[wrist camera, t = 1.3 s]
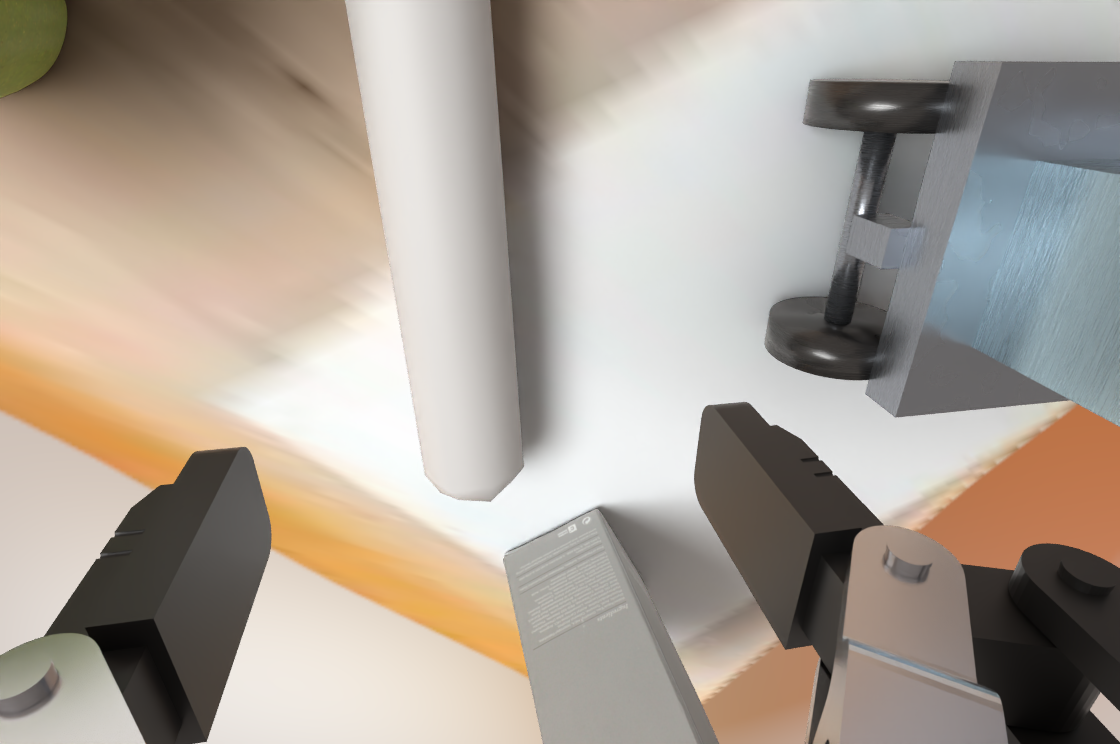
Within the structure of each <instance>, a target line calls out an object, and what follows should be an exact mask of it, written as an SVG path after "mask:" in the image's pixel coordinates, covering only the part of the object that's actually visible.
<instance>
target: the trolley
mask: <svg viewBox="0 0 1120 744" xmlns="http://www.w3.org/2000/svg"><path fill="white" fill-rule="evenodd" d="M803 124H806V125H809V126H814V127H821V128H829V129H838V130H850V131H864V135H863V139H862V144H861V148H860V153H859V157H858V162H857V167H856V171H855V176H854V180H853V185H852V189H851V194H850V199H849V203H848V208H847V212H846V217H845V221H844V226H843V231H842V235H841V240H840V244H839V249H838V253H837V258H836V263H835V267H834V272H833V276H832V281H831V285H830V290H829V295H828V298H825V297H802V298H793V299H788V300H784V301H781V302H779V303H776V304H775V305H774V306H772V308H771V310H770V314H769V319H768V325H767V331H766V337H765V347H766V349H767V351H768V352H769V353H770V354H771V355H772V356H773V357H775V358H776V359H777V360H779V361H781V362H782V363H784V364H786V365H788V366H791V367H793V368H795V369H798V370H801V371H804V372H807V373H810V374H814V375H818V376H823V377H828V378H835V379H843V380H869V382H868V386H867V390H866V393H865V394H866V395H867V396H869V397H870V398H871V399H873V400H874V401H875V402H876V403H878V404H879V405H880V406H881V407H883V408H884V409H885V410H887V411H888V412H889V413H890V414H892V415H893V416H894V417H905V416H915V415H925V414H935V413H945V412H955V411H966V410H976V409H986V408H996V407H1006V406H1016V405H1026V404H1037V403H1047V402H1057V401H1067V400H1071V401H1073V402H1075V403H1077V404H1079V405H1081V406H1082V407H1084V408H1086V409H1088V410H1090V411H1092V412H1093V413H1095V414H1097V415H1099V416H1101V417H1103V418H1105V419H1106V420H1109V421H1110V422H1112V423H1114V424H1116V425H1118V426H1119V427H1120V62H973V61H955V63H954V67H953V70H952V74H951V78H950V81H941V80H901V79H814V80H810V84H809V90H808V96H807V101H806V107H805V113H804V119H803ZM897 133H918V134H932V133H935V137H934V141H933V145H932V148H931V152H930V156H929V159H928V163H927V167H926V171H925V174H924V178H923V182H922V185H921V189H920V193H919V197H918V200H917V204H916V208H915V211H914V215H913V219H912V221H909V220H906V219H903V218H900V217H897V216H894V215H891V214H889V213H885V214H877V213H878V209H879V205H880V201H881V197H882V193H883V189H884V185H885V180H886V176H887V172H888V168H889V164H890V160H891V156H892V152H893V147H894V143H895V139H896V135H897ZM866 262H867V263H869V264H871V265H873V266H875V267H877V268H879V269H897V268H899V271H898V275H897V278H896V282H895V286H894V289H893V293H892V297H891V301H890V304H889V308H888V312H887V311H884V310H882V309H879V308H877V307H873V306H870V305H867V304H863V303H859V302H856V300H857V296H858V292H859V288H860V284H861V280H862V275H863V271H864V267H865V263H866Z"/></svg>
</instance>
